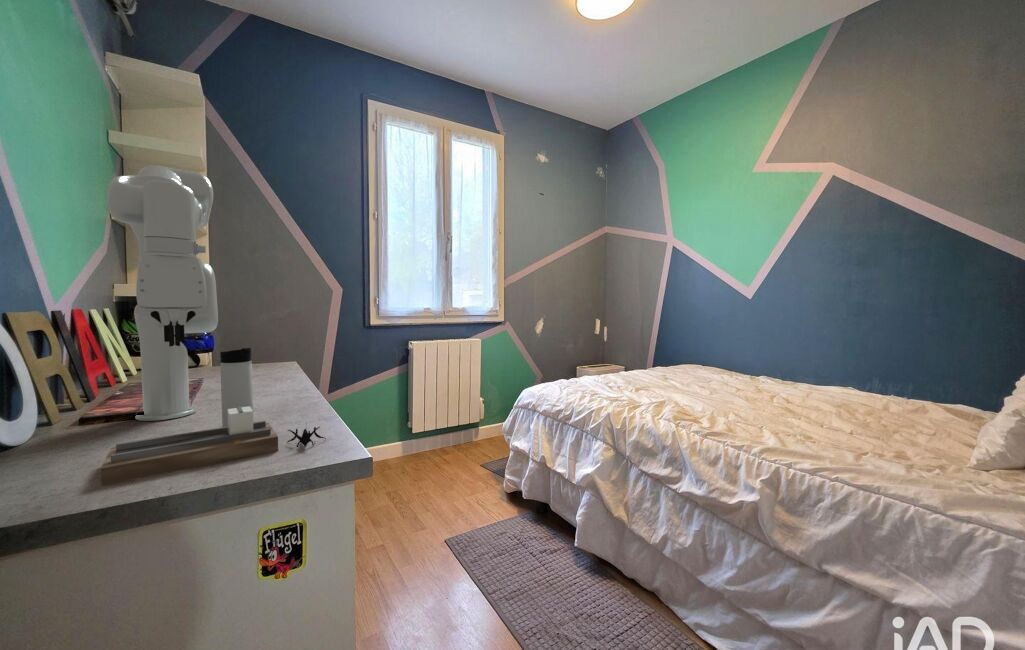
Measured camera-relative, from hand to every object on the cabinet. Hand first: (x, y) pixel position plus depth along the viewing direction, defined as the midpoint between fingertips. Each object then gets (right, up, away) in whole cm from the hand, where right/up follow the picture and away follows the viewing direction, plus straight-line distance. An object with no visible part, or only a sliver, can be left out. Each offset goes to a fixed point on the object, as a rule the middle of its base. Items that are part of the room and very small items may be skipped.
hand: (174, 345), depth 77 cm
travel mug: (-2, -22, +21) cm, 30 cm away
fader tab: (+8, -19, +7) cm, 22 cm away
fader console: (+2, -23, +3) cm, 23 cm away
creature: (+20, -23, +11) cm, 32 cm away
